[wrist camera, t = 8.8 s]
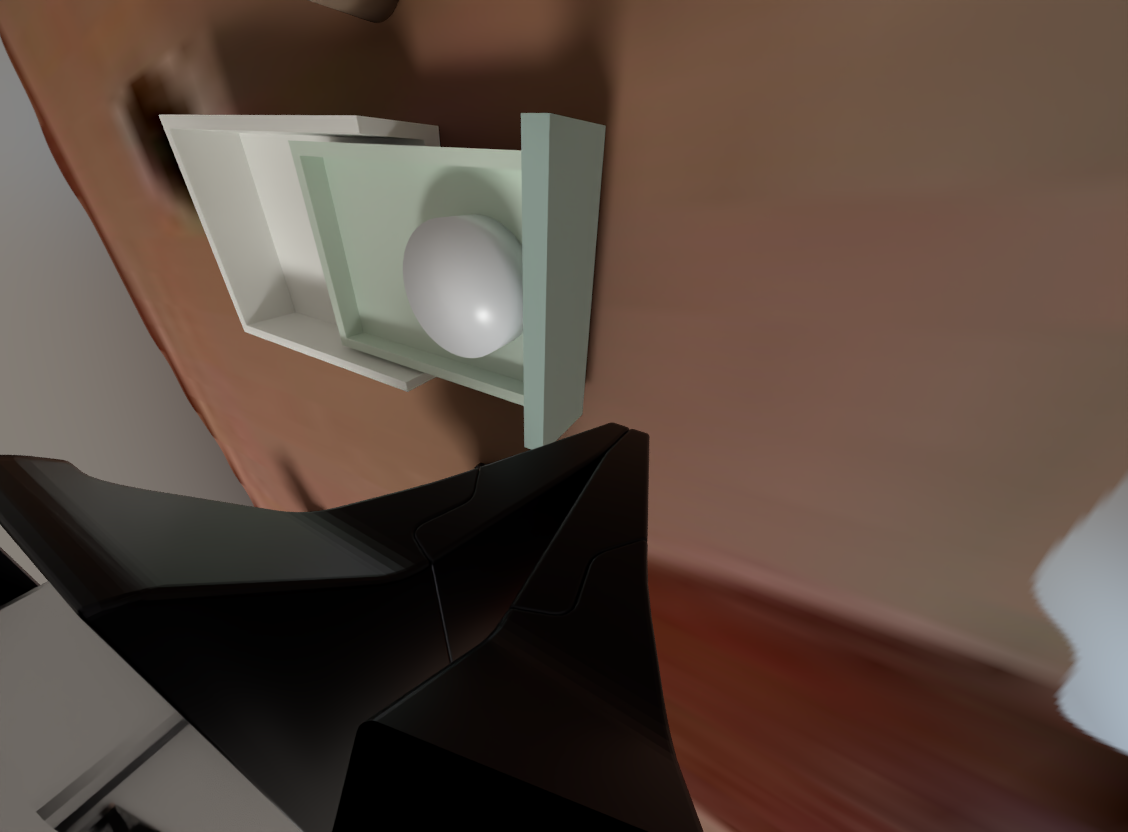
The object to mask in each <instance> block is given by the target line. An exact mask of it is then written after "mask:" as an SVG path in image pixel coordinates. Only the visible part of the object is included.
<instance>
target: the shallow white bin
mask: <svg viewBox="0 0 1128 832" xmlns="http://www.w3.org/2000/svg"><path fill="white" fill-rule="evenodd" d="M159 117H160V120H161V122H162V125H163V127H164V130H165V132H166V135H167V137H168V140H169V142H170V145H171V147H172V150H173V152H174V155H175V157H176V160H177V163H178V165H179V168H180V170H181V173H182V175H183V178H184V180H185V183H186V185H187V188H188V190H189V193H190V195H191V198H192V200H193V203H194V205H195V208H196V210H197V213H198V215H199V218H200V220H201V223H202V225H203V228H204V230H205V233H206V236H207V238H208V241H209V243H210V246H211V248H212V251H213V253H214V256H215V258H216V261H217V263H218V266H219V268H220V271H221V273H222V276H223V278H224V281H225V283H226V286H227V288H228V291H229V293H230V296H231V298H232V301H233V303H234V306H235V309H236V311H237V314H238V316H239V319H240V321H241V324H242V326H243V329H244V331H245V332H247V333H250V334H252V335H255V336H258V337H261V338H263V339H266V340H269V341H271V342H274V343H277V344H280V345H282V346H285V347H288V348H290V349H293V350H296V351H299V352H301V353H304V354H307V355H309V356H312V357H315V358H317V359H320V360H323V361H326V362H328V363H331V364H334V365H336V366H339V367H342V368H345V369H347V370H350V371H353V372H355V373H358V374H361V375H363V376H366V377H369V378H372V379H374V380H377V381H380V382H382V383H385V384H388V385H391V386H393V387H396V388H399V389H401V390H404V391H407V392H408V391H410V390H412V389H414V388H416V387H418V386H420V385H422V384H424V383H426V382H427V381H429V380H431V379H433V378H435V377H436V376H433V375H430V374H427V373H424V372H421V371H418V370H415V369H412V368H409V367H406V366H403V365H400V364H397V363H394V362H392V361H389V360H386V359H383V358H380V357H377V356H374V355H371V354H368V353H365V352H362V351H359V350H356V349H353V348H350V347H347V346H344V345H342V341H341V337H340V334H339V330H338V326H337V322H336V319H335V315H334V311H333V307H332V303H331V300H330V296H329V292H328V288H327V285H326V281H325V277H324V273H323V270H322V266H321V262H320V258H319V255H318V251H317V247H316V243H315V240H314V236H313V232H312V228H311V225H310V221H309V217H308V213H307V210H306V206H305V202H304V198H303V195H302V191H301V187H300V183H299V180H298V176H297V172H296V168H295V165H294V161H293V157H292V153H291V149H290V146H289V142H288V140H290V141H313V142H337V143H360V144H383V145H406V146H430V147H440V138H439V128H438V126H435V125H428V124H420V123H412V122H404V121H396V120H388V119H381V118H373V117H365V116H357V115H159Z"/></svg>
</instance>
